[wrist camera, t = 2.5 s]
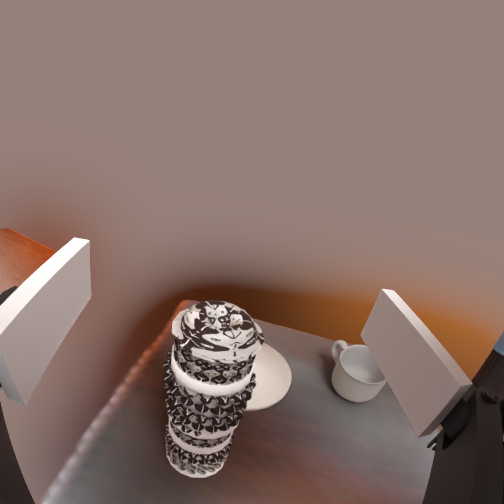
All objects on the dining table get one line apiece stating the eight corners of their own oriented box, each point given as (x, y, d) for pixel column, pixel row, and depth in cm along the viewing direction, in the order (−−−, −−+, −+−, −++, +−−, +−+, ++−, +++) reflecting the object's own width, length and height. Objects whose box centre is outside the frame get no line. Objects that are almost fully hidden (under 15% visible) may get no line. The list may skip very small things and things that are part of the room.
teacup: (383, 402, 49) (402, 374, 46) (341, 416, 45) (361, 387, 42) (349, 359, 61) (363, 332, 58) (309, 366, 57) (322, 336, 54)
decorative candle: (157, 472, 29) (151, 338, 20) (170, 422, 38) (180, 280, 28) (225, 485, 29) (276, 363, 20) (229, 434, 38) (271, 299, 29)
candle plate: (306, 401, 47) (308, 397, 47) (201, 417, 40) (202, 413, 40) (267, 337, 63) (268, 333, 63) (181, 340, 56) (181, 336, 56)
